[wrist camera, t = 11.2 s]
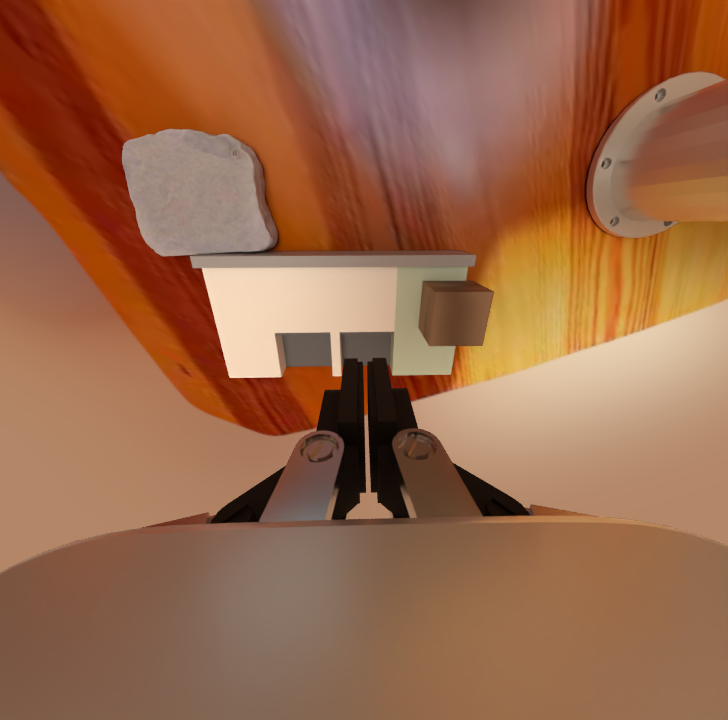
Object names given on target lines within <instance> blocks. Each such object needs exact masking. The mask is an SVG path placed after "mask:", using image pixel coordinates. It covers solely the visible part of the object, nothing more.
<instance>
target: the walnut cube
mask: <svg viewBox="0 0 728 720" xmlns="http://www.w3.org/2000/svg"><path fill="white" fill-rule="evenodd" d="M493 294H494V292H493V291H491V290H489V289H487V288H485V287H483V286H481V285H479V284H477V283H476V282H474V281H423V283H422V293H421V304H420V315H419V325H418V328H419V330H420V332H421V333H422V335H423V337H424V338H425V340H426V342H427V343H428V345H429V346H483V341H484V336H485V331H486V327H487V322H488V317H489V313H490V308H491V303H492V298H493Z"/></svg>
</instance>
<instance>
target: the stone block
mask: <svg viewBox="0 0 728 720" xmlns="http://www.w3.org/2000/svg"><path fill="white" fill-rule="evenodd" d="M122 164H123V166H124V170H125V174H126V179H127V184H128V189H129V193H130V198H131V200H132V202H133V204H134V207H135V209H136V217H137V221H138V226H139V229H140V232H141V235H142V236H143V238H144V240H145V242H146V244H148V245H149V246H150V247H151V248H152V249H154V250H155V252H156V253H158V254H159V255H161V256H182V255H199V254H211V253H226V252H255V251H262V250H268V249H271V248H273V247H274V246H275V245H276V243H277V239H278V232H277V228H276V226H275V224H274V220H273V219H272V217H271V213H270V210H269V208H268V206H267V205H266V200H265V181H264V176H263V168H262V165H261V163H260V162H259V160H258V158H257V156H256V154H255V153H254V151H253V150H252V149H251V148H250V147H249V146H247V145H245V144H244V143H242V142H241V141H239V140H238V139H236V138H234V137H232V136H231V135H227V134H221V135H218V136H215V135H210V134H207V133H204V132H201V131H195V130H189V129H183V130H179V129H168V130H163V131H160V132H158V133H156V134H155V135H154V134H148V135H146V136H144V137H140V138H136V139H131V140H129V141H127V142H126V143H125V144H124V146H123V151H122Z"/></svg>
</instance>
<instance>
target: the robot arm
mask: <svg viewBox="0 0 728 720" xmlns="http://www.w3.org/2000/svg"><path fill="white" fill-rule="evenodd" d="M587 203H588V208H589V211H590V214H591V216H592V218H593V220H594V221H595V223H596V224H597V225H598V226H599V227H600V228H601V229H602V230H604V231H605V232H606V233H608V234H611V235H614V236H616V237H625V238H642V237H646V236H651V235H654V234H657V233H660V232H662V231H665V230H667V229H668V228H670V227H672V226H674V225H676V224H677V223H679V222H680V221H728V79H724V78H722V77H720V76H718V75H716V74H714V73H709V72H703V71H698V72H690V73H684V74H681V75H679V76H676V77H673V78H670V79H668V80H666V81H664V82H662V83H659V84H657V85H655V86H653V87H652V88H650V89H649V90H647V91H646V92H644V93H643V94H641V95H640V96H638V97H637V98H636V99H635V100H634V101H633V102H632V103H630V104H629V105H628V106H627V107H626V108H625V109H624V110H623V111H622V112H621V114H620V115H619V116H618V117H617V118H616V119H615V120H614V122H613V123H612V124H611V126H610V127H609V129H608V130H607V132H606V133H605V135H604V136H603V138H602V140H601V142H600V144H599V146H598V148H597V150H596V152H595V154H594V157H593V160H592V163H591V166H590V169H589V174H588V180H587ZM367 380H368V428H369V429H368V430H369V453H370V477H371V492H377V495H378V496H377V497H378V503H381V504H382V505H383V506H385V507H386V508H387V509H388V510H389V511H390V519H349V511H350V510H352V508H354V507H355V506H356V505H357V504H358V503H360V493H366V474H365V431H364V430H365V429H364V385H363V362H358V358H344V366H343V375H342V384H341V390H325V392H324V396H323V401H322V406H321V411H320V416H319V421H318V426H317V431H316V432H311V433H309V434H308V435H305V436H304V437H303V438H301V439H300V440H299V442H298V443H297V444H296V446H295V448H294V450H293V452H292V454H291V456H290V458H289V460H288V463H287V465H286V466H285V467H283V468H282V469H280V470H279V471H277V472H276V473H274V474H273V475H271V476H270V477H268V478H266V479H265V480H264V481H262V482H260V483H259V484H257V485H256V486H254V487H253V488H251V489H250V490H248V491H247V492H245V493H244V494H242V495H241V496H239V497H238V498H236V499H235V500H233V501H232V502H230V503H229V504H227V505H226V506H225V507H223V508H222V509H221V510H220V511H219V512H218V513H217V514H216V515H214V516H210V515H209V513H203V514H199V515H195V516H191V517H186V518H182V519H178V520H173V521H169V522H164V523H160V524H156V525H151V526H147V527H142V528H138V529H131V530H124V531H118V532H111V533H106V534H102V535H98V536H94V537H90V538H85V539H81V540H78V541H74V542H71V543H68V544H65V545H62V546H59V547H56V548H54V549H51V550H48V551H45V552H42V553H40V554H37V555H35V556H33V557H30V558H28V559H26V560H24V561H21V562H19V563H17V564H16V565H13V566H11V567H9V568H7V569H6V570H4V571H2V572H0V720H728V546H727V545H724V544H722V543H720V542H717V541H714V540H712V539H709V538H706V537H703V536H701V535H697V534H694V533H690V532H687V531H683V530H679V529H676V528H673V527H669V526H664V525H659V524H654V523H649V522H644V521H638V520H631V519H622V518H612V517H598V516H593V515H587V514H581V513H576V512H571V511H565V510H559V509H554V508H548V507H542V506H537V505H531V506H530V508H524V507H523V506H522V504H520V503H519V502H518V501H516V500H515V499H513V498H512V497H510V496H508V495H507V494H505V493H504V492H502V491H500V490H498V489H497V488H495V487H493V486H491V485H490V484H488V483H486V482H485V481H483V480H481V479H480V478H478V477H476V476H475V475H473V474H471V473H469V472H468V471H466V470H464V469H462V468H461V467H459V466H457V465H456V464H454V463H452V461H451V460H450V458H449V456H448V454H447V453H446V451H445V449H444V448H443V446H442V444H441V442H440V441H439V440H438V438H437V437H436V436H434V435H433V434H431V433H430V432H428V431H425V430H422V429H418V427H417V423H416V419H415V416H414V412H413V408H412V405H411V401H410V397H409V394H408V390H407V388H393V389H392V388H391V383H390V377H389V372H388V366H387V361H386V358H372V361H367Z"/></svg>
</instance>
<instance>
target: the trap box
mask: <svg viewBox="0 0 728 720" xmlns="http://www.w3.org/2000/svg"><path fill="white" fill-rule="evenodd" d="M190 258H191V262H192V266H193V268H202V271H203V275H204V279H205V283H206V287H207V291H208V295H209V298H210V302H211V306H212V310H213V314H214V318H215V322H216V326H217V330H218V334H219V338H220V342H221V346H222V350H223V354H224V358H225V362H226V366H227V370H228V373H229V377H230V378H255V377H282V375H283V373H284V371H285V369H286V367H297V366H332V370H333V376H341V375H342V366H344V358H358V362H363V366H365V365H367V361H372V358H386V361H387V365H390V368H391V372H392V375H448V374H451V371H452V365H453V358H454V352H455V346H429V345H428V343H427V342H426V340H425V338H424V337H423V335H422V333H421V332H420V330H419V328H418V325H419V315H420V304H421V293H422V283H423V281H466V277H467V271H468V266H475V260H476V255H474V254H471V253H467V252H464V251H460V250H432V251H255V252H226V253H211V254H199V255H194V256H190Z"/></svg>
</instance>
